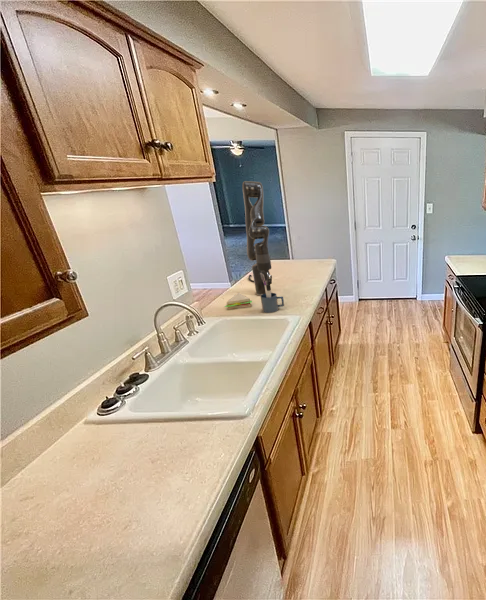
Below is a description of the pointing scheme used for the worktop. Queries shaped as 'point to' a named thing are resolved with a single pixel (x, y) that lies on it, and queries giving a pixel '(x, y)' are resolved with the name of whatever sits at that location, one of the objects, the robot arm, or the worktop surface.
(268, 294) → the glue stick
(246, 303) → the sandwich
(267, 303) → the mug
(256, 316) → the worktop surface
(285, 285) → the worktop surface
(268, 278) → the robot arm
